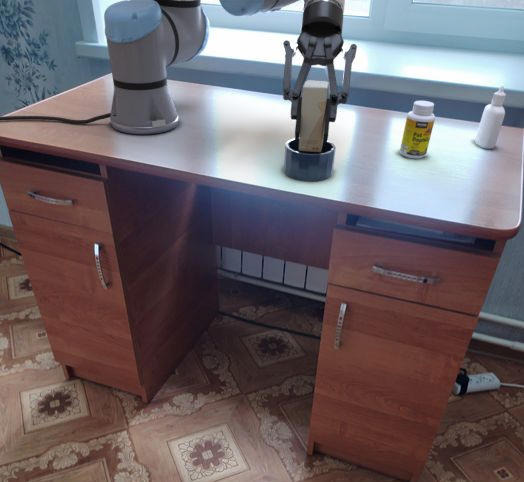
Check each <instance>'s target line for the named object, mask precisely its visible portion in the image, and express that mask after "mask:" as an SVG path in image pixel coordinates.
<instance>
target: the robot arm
mask: <svg viewBox="0 0 524 482" xmlns="http://www.w3.org/2000/svg"><path fill="white" fill-rule="evenodd" d="M201 1H202V0H120V1H117V2H114V3H112V4H110V5H108V6H107V8H106V9H105V11H104V14H103V21H104V36H105V39H106V45H107V50H108V52H107V53H108V57H109V64H110V70H111V76H112V83H113V95H112V101H111V109H110V112H109V113H105V114H101V115H96V116H93V117H90V118H88V119H87V118H86V119H72V118H67V117H66V118H65V117H59V116H47V115H8V116H7V115H6V116H0V121H17V120H18V121H21V120H22V121H24V120H31V121H32V120H33V121H35V120H36V121H54V122H55V121H56V122H63V123H67V124H74V125H75V124H76V125H83V124H84V125H86V124H91V123H94V122H97V121H100V120H105V119H108V118H110V123H111V124H110V125H111V127H112V128H113V129H114V130H116V131H118V132H120V133H125V134H131V135H154V134H155V135H156V134H160V133H165V132H168V131H171V130H173V129H175V128H177V127H178V125H179V115H178V111H177V109H176V107H175V104H174V101H173V98H172V96H171V93H170V90H169V87H168V77H167V67H170V66H173V65H177V64H180V63H185V62H190V61H192V60H193V59H194V58H196V57H198V56H200V55H201V54H202V53H203V52H204V50H205V49H206V47H207V45H208V42H209V38H210V31H211V30H210V21H209V18H208V15H207V14H206V11H205V9H204V8H203V6H202V4H201V3H202V2H201ZM218 1H219V4H220V5H221V7H222V8H223V10H224V11H225V12H226V13H228V14H229V15H231V16H234V17H251V16H254V15H257V14H258V13H262V14H269V13H272V12H276V11H280V10H281V9H283V8H285V7H287V6H290V5H292V4H295V3H297V2H300V0H218ZM345 3H346V0H303V3H302V15H301V25H300V34H299V35H298V37H297V39H296V40H294V41H292V42H290V41H289V40H284V41H283V43H282V45H283V55H284V70H283V81H282V82H283V83H282V98H283V100H284V101H289V102H290V103H291V104H290V119H291V120H295V127H294V138H295V139H296V140H299V137H300V121H301V107H302V93H303V85H304V83H305V81H307V80H308V77H309V73H310V71H311V69H312V67H313V66H321V67H324V70H325V74H326V81H327V82H329V87H328V96H329V98H327V106H326V116H325V127H324V138H323V141H329V131H330V130H329V129H330V123H336V120H337V114H338V106H339V105H340V104H342V105H345V104H347V103H348V99H349V94H350V85H351V75H352V66H353V62H354V60H355V59H356V54H357V49H358V46H357V44H355V43H352V44H350V45H349V44H347V43H345V41H344V38H343V25H344V24H343V23H344V12H345ZM297 51H298V52H299V53H300V55H301V56H302V58H303V60H302V63H301V67H300V69H299V73H298V75H297V78H296V81H295V84H294V87H293V90H292V89H291V86H292V85H291V83H292V73H293V58H294V57H295V56H296V54H297V53H296V52H297ZM340 53H342V58H343V60H344V66H343V76H342V85H341V92H339V91H338V85H337V79H336V78H337V76H336V71H335V63H334V61H335V59H336V58H337V57H338V56H339V54H340Z"/></svg>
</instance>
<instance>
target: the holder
mask: <svg viewBox="0 0 524 482" xmlns="http://www.w3.org/2000/svg"><path fill="white" fill-rule="evenodd" d="M335 156H336V145H335V144H334V143H333V142H331V141H330V140H327V141H323V146H322V150H321V152H309V151H299V140H296V139H295V137H294V138H292V139H289V140H287V141H286V143H285V144H284V160H283V171H284V173H285V175H286V176H287V177H290V178H292V179H293V180H298V181H301V182H302V181H303V182H320V181H324V180H327V179H329V178H330V177H332V175H333V171H334V164H335Z"/></svg>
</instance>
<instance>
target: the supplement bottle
mask: <svg viewBox="0 0 524 482" xmlns="http://www.w3.org/2000/svg"><path fill="white" fill-rule="evenodd" d="M434 108H435V103H434V102H432V101H428V100H415V101H414V102H413V106H412V110H410V111H408V112H407V115H406V120H405V124H404V130H403V134H402V139H401V142H400V148H399V153H400V154H401V156H403V157H405V158H409V159H421V158H424V157H425V156H426V155H427V153H428V149H429V145H430V144H429V143H430V140H431V136H432V132H433V129H434V124H435V121H436V116H435V114H434V113H433V112H434Z"/></svg>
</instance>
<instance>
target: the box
mask: <svg viewBox="0 0 524 482" xmlns="http://www.w3.org/2000/svg"><path fill="white" fill-rule="evenodd" d="M328 87H329V82H327V80H326V81H325V80H314V79H306V81H305V83H304V85H303V91H302V94H301V97H302V107H301V121H300V135H299V151H309V152H321V150H322V146H323V138H324V127H325V116H326V106H327V99H328V96H329V89H328Z"/></svg>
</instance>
